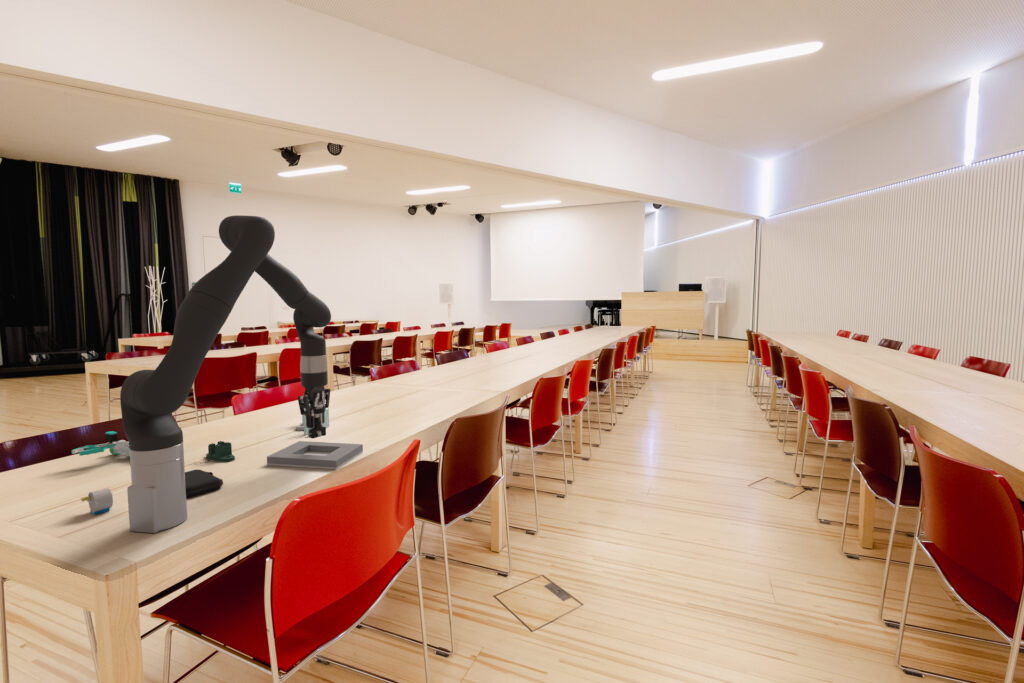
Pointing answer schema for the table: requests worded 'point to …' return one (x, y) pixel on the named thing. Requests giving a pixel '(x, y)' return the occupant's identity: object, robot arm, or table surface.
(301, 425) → the l-shaped corner panel
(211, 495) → the table surface
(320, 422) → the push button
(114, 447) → the robot kit
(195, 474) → the carrying case or bag
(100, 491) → the electric motor
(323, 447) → the plate
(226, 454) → the mount
